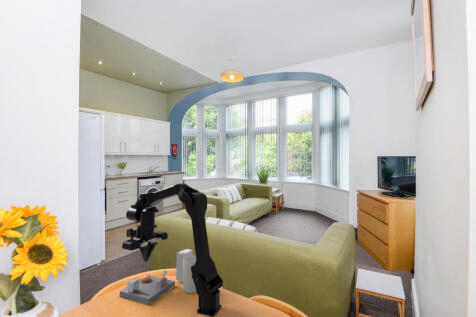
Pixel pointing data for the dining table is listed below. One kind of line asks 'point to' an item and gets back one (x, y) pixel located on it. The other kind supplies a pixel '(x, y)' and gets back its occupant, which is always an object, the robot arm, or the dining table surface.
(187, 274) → the mug
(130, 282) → the block
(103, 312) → the dining table surface
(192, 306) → the dining table surface
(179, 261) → the skincare box
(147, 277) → the push button
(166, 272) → the toggle lever
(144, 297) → the control panel
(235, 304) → the dining table surface
